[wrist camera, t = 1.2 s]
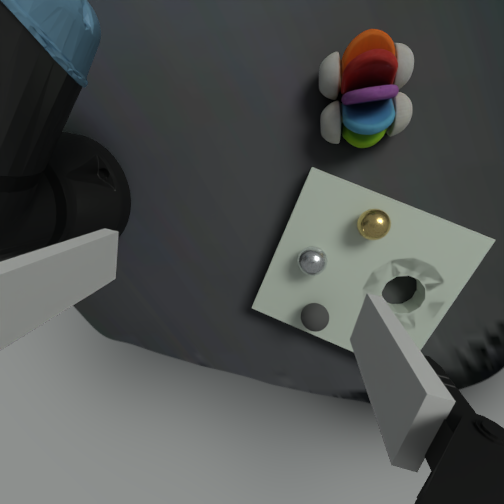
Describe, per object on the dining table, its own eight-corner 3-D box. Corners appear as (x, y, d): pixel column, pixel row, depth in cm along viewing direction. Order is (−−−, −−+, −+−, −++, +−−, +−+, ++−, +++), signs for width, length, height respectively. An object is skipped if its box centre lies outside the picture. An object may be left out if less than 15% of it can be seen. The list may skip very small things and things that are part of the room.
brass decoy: (349, 229, 31) (354, 235, 28) (362, 202, 30) (369, 205, 27) (376, 241, 31) (385, 248, 28) (391, 213, 30) (402, 218, 27)
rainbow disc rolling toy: (404, 41, 28) (438, -3, 21) (401, 145, 30) (430, 136, 24) (316, 56, 30) (321, 20, 23) (319, 154, 32) (325, 148, 25)
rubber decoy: (296, 316, 35) (295, 329, 32) (307, 294, 34) (307, 306, 31) (320, 326, 34) (322, 341, 31) (332, 304, 34) (335, 317, 30)
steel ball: (293, 263, 33) (292, 272, 30) (304, 238, 32) (304, 245, 29) (318, 274, 33) (320, 284, 30) (330, 249, 32) (334, 257, 29)
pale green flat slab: (254, 299, 38) (251, 308, 35) (311, 167, 32) (312, 166, 30) (397, 361, 37) (404, 374, 34) (480, 235, 31) (495, 239, 29)
